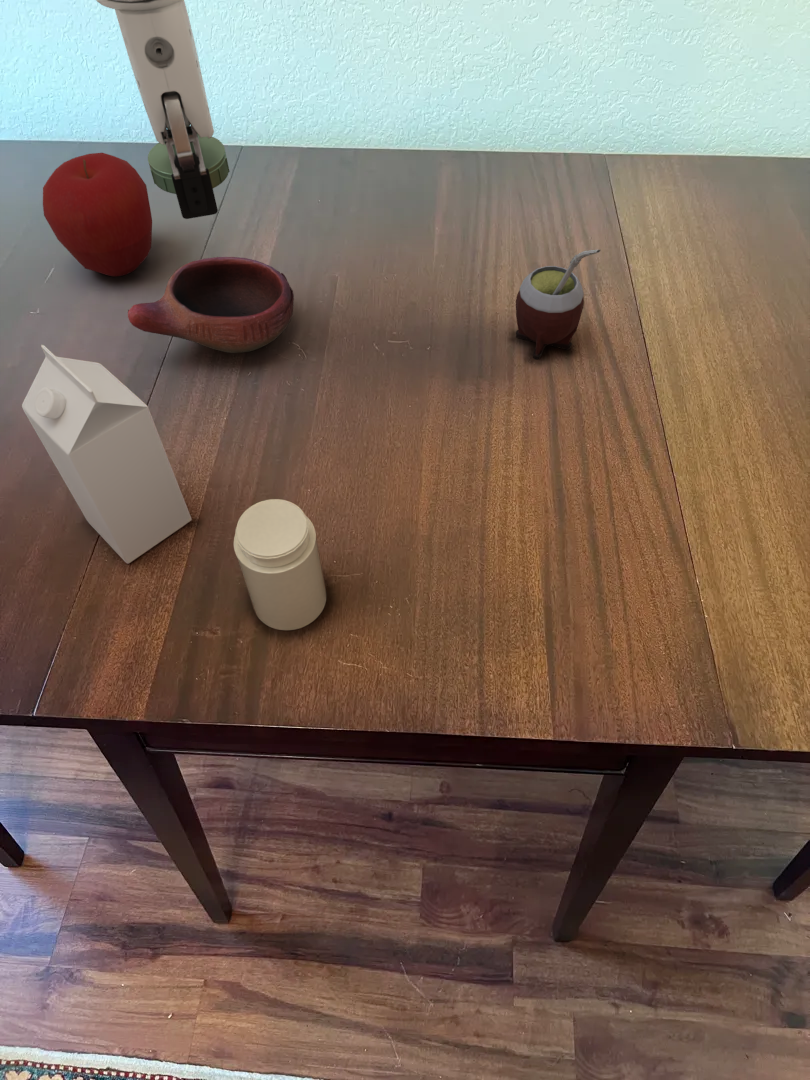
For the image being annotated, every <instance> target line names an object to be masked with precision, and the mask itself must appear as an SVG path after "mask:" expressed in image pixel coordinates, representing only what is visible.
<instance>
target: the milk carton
mask: <svg viewBox="0 0 810 1080" xmlns="http://www.w3.org/2000/svg"><path fill="white" fill-rule="evenodd" d="M40 347H41V349H42V351H43V353H44V355H45V357H44V358H43V361H42V363H41V365H40V367H39V369H38V371H37V372H36V376H35V377H34V379H33V381H32V383H31V385H30V388H29V390H28V392H27V394H26V395H25V398H24V400H23V401H22V404H21V407H22V410H23V412H24V414H25V415H26V418H27V419H28V421H29V423H30V424H31V426H32V429H34V432H35V433H36V435H37V436H38V439H39V440H40V442H41V443H42V445H43V447H44V448H45V451H46V452H47V454H48V456H49V458H50V460H51V461H52V463H53V465H54V467H55V468H56V470H57V472H58V473H59V475H60V477H61V478H62V480H63V482H64V483H65V485H66V487H67V489H68V491H69V493H70V494H71V495H72V498H73V500H74V501H75V503H76V505H77V506H78V508H79V509H80V511H81V513H82V515H83V517H84V518H85V520H86V522H87V523H88V524H89V525H90V526H91V527H92V528H93V529H94V530H95V532H96V533H97V534H98V535H99V536H100V537H101V539H103V540H104V541H105V542H106V544H107V545H108V546H110V548H111V549H112V550H113V551H114V552H115V553H116V554H117V555H118V556H119V557H120V558H121V560H123V562H124V563H126V564H127V565H128V564H130V563H132V562H133V561H135V560H136V559H138V558H139V557H140V556H142V555H143V554H146V552H148V551H150V550H151V549H152V548H154V547H155V546H156V545H158V544H160V543H161V542H162V541H164V540H166V539H167V538H168V537H170V536H171V535H172V534H174V533H176V532H177V531H178V530H180V529H181V528H183V527H184V526H186V525H187V524H188V523H190V522H191V521H193V519H192V516H191V514H190V512H189V509H188V506H187V503H186V501H185V498H184V496H183V493H182V491H181V488H180V485H179V483H178V480H177V478H176V475H175V473H174V471H173V468H172V465H171V463H170V459H169V456H168V454H167V453H166V450H165V448H164V445H163V442H162V439H161V436H160V434H159V431H158V429H157V427H156V424H155V421H154V419H153V416H152V414H151V411H150V409H149V406H148V404H146V403H145V402H143V400H142V399H141V398H140V397H138V396H137V395H136V394H135V393H134V392H133V391H131V389H130V388H128V387H127V386H126V385H125V384H124V383H122V382H121V381H120V379H119V378H117V377H116V376H115V375H114V374H113V373H111V372H110V371H109V369H107V368H106V367H105V366H104V365H103V364H102V363H100V362H96V361H91V360H90V361H89V360H82V359H77V358H76V359H75V358H69V357H62V356H57V355H55V354H54V353H53V352H52V351H50V349H48V348H47V347H46V346H45V345H44V344H41V345H40Z"/></svg>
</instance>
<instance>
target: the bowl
mask: <svg viewBox="0 0 810 1080" xmlns="http://www.w3.org/2000/svg"><path fill="white" fill-rule="evenodd" d="M174 271H175V272H173V274H172V275H171V276H170V278H169V279H168V282H167V284H166V287H165V291H164V294H163V295H162V297H161V298H160V299H158V300H156V301H152V302H151V301H150V302H142V303H137V304H136V303H135V304H133V305H132V306H131V307H130V308H129V309H127V318H128V321H129V323H131V325H132V326H133V327H135V328H137V329H138V330H140V331H142V332H145V333H152V334H157V335H163V336H169V337H172V338H177V339H182V340H186V341H190V342H193V343H196V344H199V345H201V346H204V347H207V348H209V349H212V350H215V351H218V352H219V351H220V352H223V353H232V354H237V353H238V354H241V353H249V352H254V351H256V350H259V349H261V348H263V347H265V346H267V345H269V344H270V343H272V342H273V341H275V340H276V339H277V338H278V337H279V336H280V335H281V334H282V333H283V332H284V331H285V330H286V328H287V327H288V325H290V321H291V319H292V316H293V313H294V305H295V304H294V303H295V296H294V289H293V288H292V287H291V285H290V283H289V281H288V279H287V277H286V276H285V274H284V273H283V272H280V271H279V270H278V269H276V268H274V267H273V266H272V265H269V264H266V263H264V262H262V261H258V260H257V259H251V258H246V257H238V256H213V257H207V258H200V259H196V260H192V261H190V262H188V263H185V264H183V265H182V266H181V267H179V268H177V269H176V270H174Z"/></svg>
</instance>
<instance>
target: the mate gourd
mask: <svg viewBox="0 0 810 1080" xmlns="http://www.w3.org/2000/svg"><path fill="white" fill-rule="evenodd" d="M601 251H602V250H601V249H590V250H583V251H581V252H578V254H575V255H574V256H573V258H572V259H571V260H570V262H569V266H568V267H567V268H565V267H561V266H557V265H545V266H541V267H538V268H535V269H534V270H533V271H531V272H530V273H528V275H527V276H525V277H524V279H523V281H522V282H521V284H520V287H519V290H518V292H517V294H516V298H515V318H516V323H517V330H516V331H515V338H517V339H521V340H525V341H528V342H533V343H535V348H534V351H533V354H532V359H534V360H540V359H541V357H542V354H543V352H544V349H545V348H546V346H549V347H554V348H558V349H563V350H567V351H568V350H570V349H571V347H572V344H573V343H572V342H571V340H572V339H573V337H574V335H575V334H576V332H577V331H578V327H579V324H580V322H581V318H582V317H581V316H582V313H583V311H584V305H585V297H584V295H585V294H584V289H583V286H582V283H581V281H580V280H579V278H578V276H577V275H575V273H573V271H574V270H575V268H576V267H578V265H579V264H580V263H581V262H582V259H584V258H586V257H588V256H592V255H595V254H599V253H600V252H601Z"/></svg>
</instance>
